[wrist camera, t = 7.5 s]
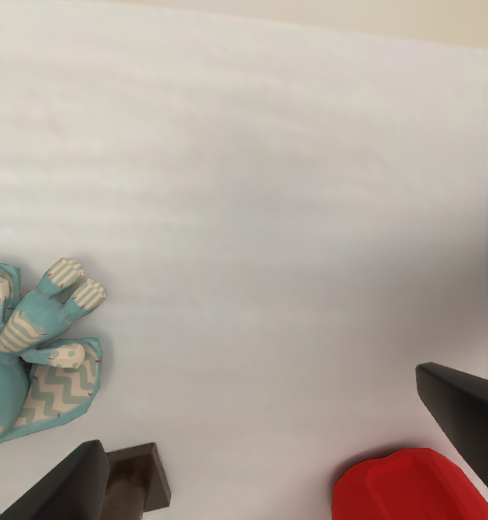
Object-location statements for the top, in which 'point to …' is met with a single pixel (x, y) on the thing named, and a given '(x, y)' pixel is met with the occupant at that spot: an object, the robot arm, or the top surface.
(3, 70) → the top surface
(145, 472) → the peg
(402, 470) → the water bottle
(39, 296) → the stuffed animal
